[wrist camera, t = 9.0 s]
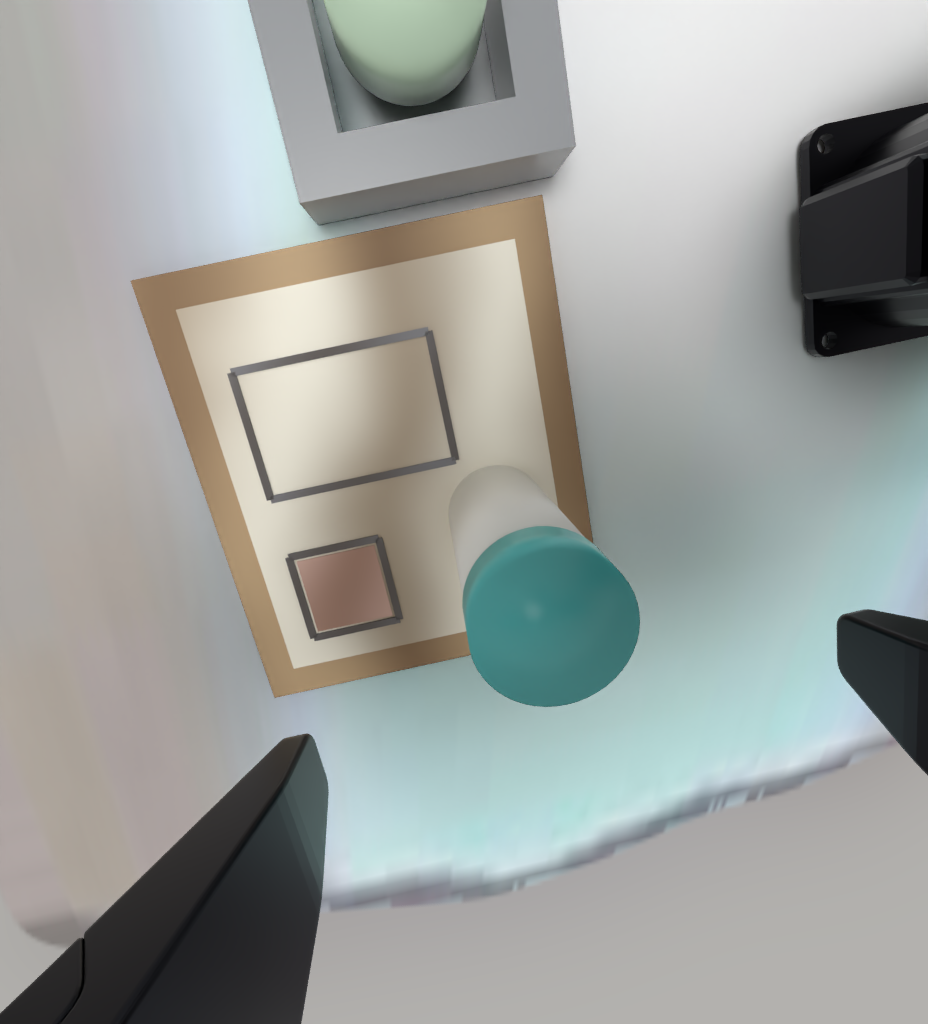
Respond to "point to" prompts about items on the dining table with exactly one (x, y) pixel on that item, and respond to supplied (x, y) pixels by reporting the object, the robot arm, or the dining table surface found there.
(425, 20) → the button
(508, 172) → the button housing
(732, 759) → the dining table surface
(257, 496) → the drawing board
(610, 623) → the marker
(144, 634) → the dining table surface
